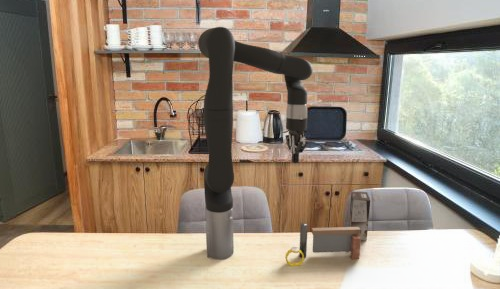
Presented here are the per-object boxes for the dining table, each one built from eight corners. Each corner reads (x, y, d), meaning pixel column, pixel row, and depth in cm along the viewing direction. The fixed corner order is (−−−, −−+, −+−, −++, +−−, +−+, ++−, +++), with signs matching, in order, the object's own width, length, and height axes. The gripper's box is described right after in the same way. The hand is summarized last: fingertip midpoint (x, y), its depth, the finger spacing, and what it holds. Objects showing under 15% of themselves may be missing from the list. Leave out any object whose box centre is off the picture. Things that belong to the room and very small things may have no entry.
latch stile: (352, 259, 117) (353, 238, 115) (350, 256, 119) (351, 235, 117) (359, 259, 117) (361, 238, 115) (357, 256, 119) (358, 235, 117)
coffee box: (367, 240, 129) (370, 200, 125) (349, 239, 130) (352, 199, 127) (364, 229, 138) (367, 191, 134) (347, 228, 139) (350, 190, 135)
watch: (302, 263, 115) (304, 247, 114) (303, 267, 113) (305, 251, 111) (284, 262, 115) (286, 246, 114) (285, 266, 113) (287, 250, 111)
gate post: (300, 258, 118) (301, 225, 115) (298, 254, 120) (299, 222, 117) (306, 257, 118) (308, 225, 115) (305, 254, 120) (306, 222, 117)
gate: (312, 253, 118) (313, 230, 116) (310, 250, 120) (311, 228, 118) (358, 252, 119) (360, 229, 117) (356, 248, 121) (358, 226, 119)
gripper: (279, 114, 128) (278, 159, 132) (296, 119, 116) (294, 168, 120) (297, 113, 131) (295, 157, 135) (315, 118, 119) (313, 166, 123)
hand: (295, 162), depth 128 cm, fingers closed
